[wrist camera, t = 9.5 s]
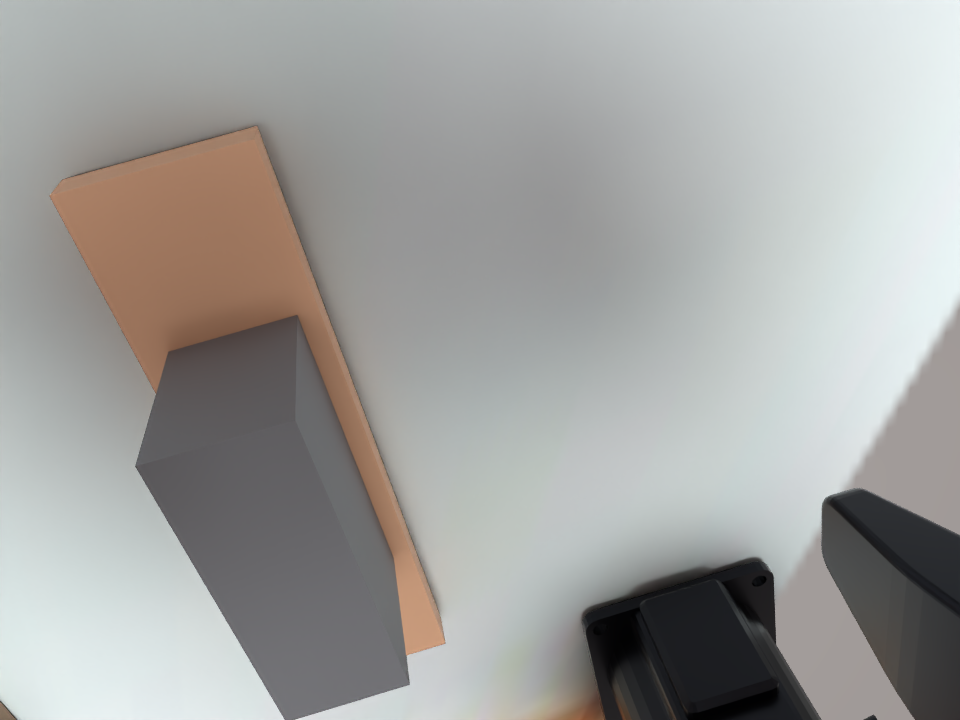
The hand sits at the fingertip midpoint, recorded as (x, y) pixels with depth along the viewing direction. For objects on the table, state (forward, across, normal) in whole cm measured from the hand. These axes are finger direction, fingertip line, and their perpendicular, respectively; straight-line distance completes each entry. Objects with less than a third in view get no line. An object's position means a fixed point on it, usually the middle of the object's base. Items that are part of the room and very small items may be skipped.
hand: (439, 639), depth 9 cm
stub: (+12, +4, +5) cm, 13 cm away
